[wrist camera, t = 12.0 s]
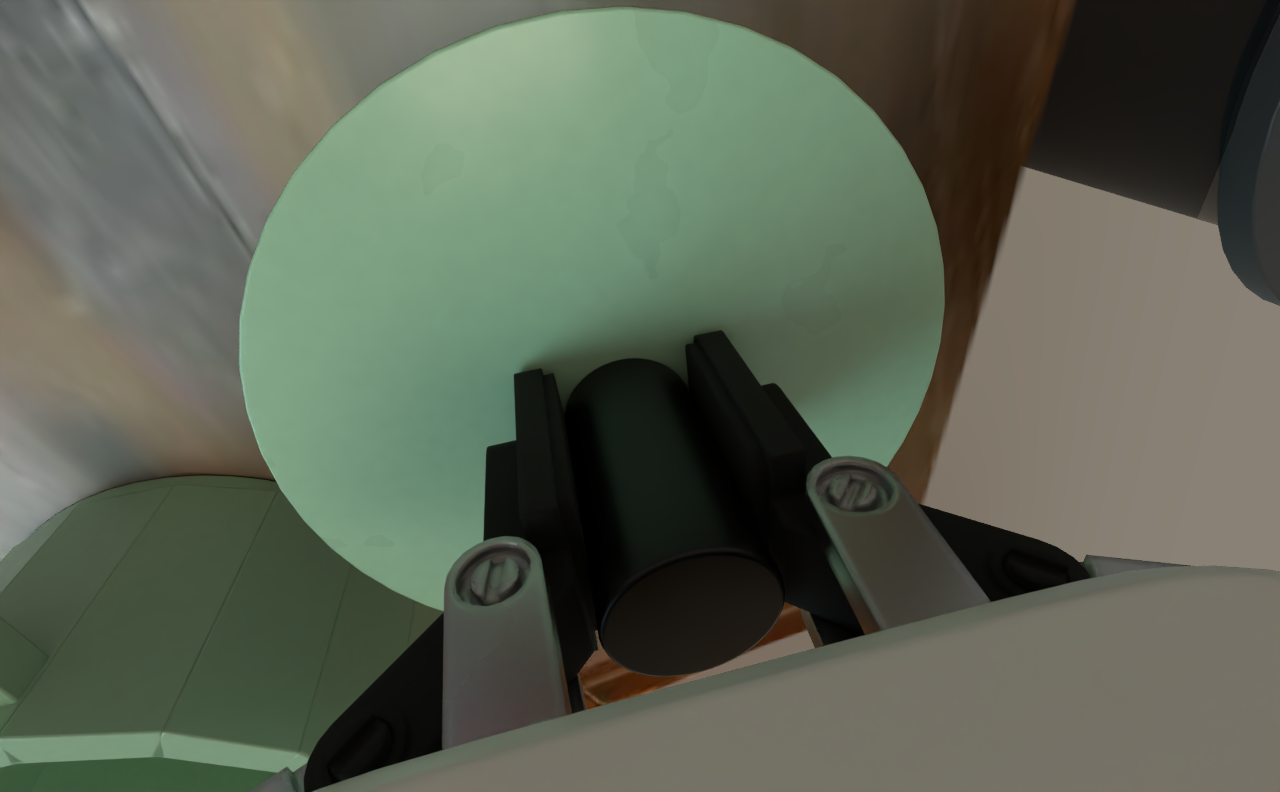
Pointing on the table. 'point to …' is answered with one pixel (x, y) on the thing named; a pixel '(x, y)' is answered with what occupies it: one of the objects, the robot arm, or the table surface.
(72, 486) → the table surface
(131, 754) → the pot
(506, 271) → the lid
